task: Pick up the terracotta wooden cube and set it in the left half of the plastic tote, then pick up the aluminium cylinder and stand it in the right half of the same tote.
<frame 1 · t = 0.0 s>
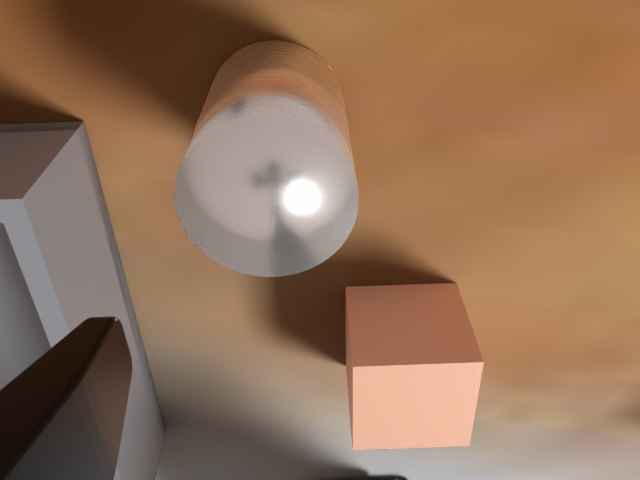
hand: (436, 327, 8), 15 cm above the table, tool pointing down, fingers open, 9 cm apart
aluminium cylinder: (277, 108, 22), on the table
terracotta cube: (398, 325, 28), on the table
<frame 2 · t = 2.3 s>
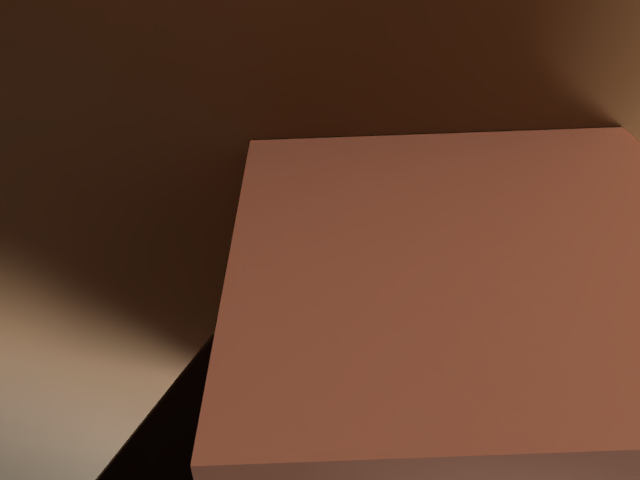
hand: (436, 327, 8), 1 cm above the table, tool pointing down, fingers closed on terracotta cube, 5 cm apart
terracotta cube: (423, 281, 9), on the table, touching gripper
when the fingers open (3 cm above the table, at t = 7.0 s): terracotta cube drops 1 cm, resting on tote.
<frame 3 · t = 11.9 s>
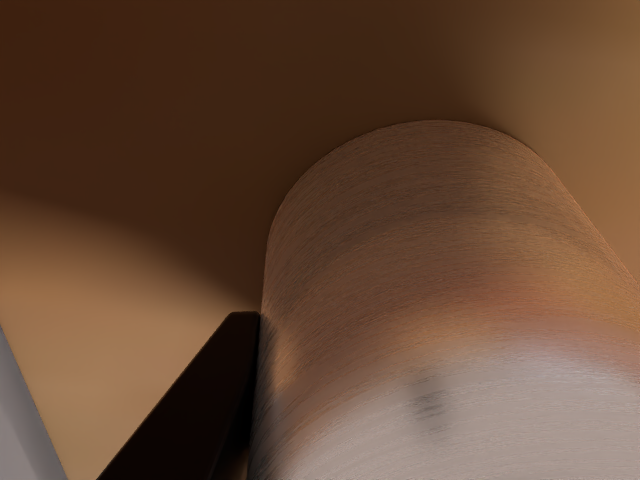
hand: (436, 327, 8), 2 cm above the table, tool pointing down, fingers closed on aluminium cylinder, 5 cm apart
aluminium cylinder: (418, 263, 10), on the table, touching gripper
when the fingers open (4 cm above the table, at t = 16.5 s): aluminium cylinder drops 1 cm, resting on tote.
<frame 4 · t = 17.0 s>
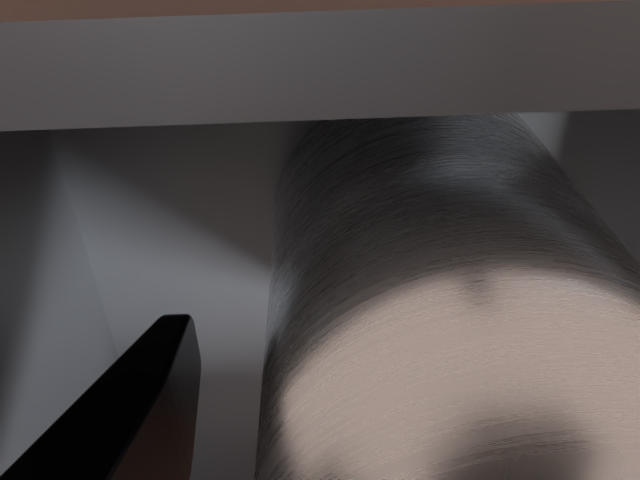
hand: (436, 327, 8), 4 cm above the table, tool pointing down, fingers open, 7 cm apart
tote: (391, 344, 14), on the table
aluminium cylinder: (411, 213, 11), point 1 cm above the table, touching tote
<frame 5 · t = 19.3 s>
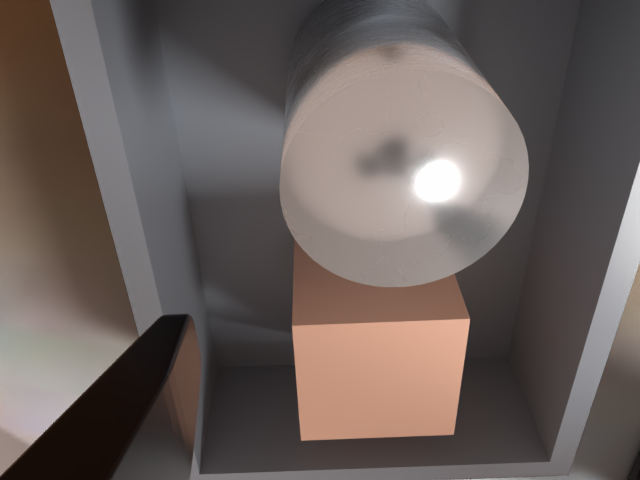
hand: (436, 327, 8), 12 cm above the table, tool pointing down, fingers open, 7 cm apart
tote: (363, 180, 21), on the table
aluminium cylinder: (371, 73, 18), point 1 cm above the table, touching tote
terracotta cube: (365, 283, 22), point 1 cm above the table, touching tote
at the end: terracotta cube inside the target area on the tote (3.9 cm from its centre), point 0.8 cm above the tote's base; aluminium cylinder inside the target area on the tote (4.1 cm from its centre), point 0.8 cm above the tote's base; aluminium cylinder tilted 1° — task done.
